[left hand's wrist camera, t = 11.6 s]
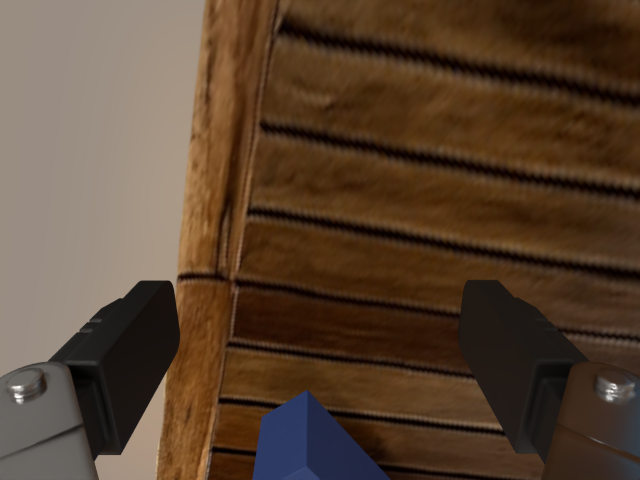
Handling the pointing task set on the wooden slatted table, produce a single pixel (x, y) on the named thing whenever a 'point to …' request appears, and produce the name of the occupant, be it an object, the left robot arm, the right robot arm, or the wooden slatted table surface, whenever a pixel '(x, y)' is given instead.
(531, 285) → the wooden slatted table surface
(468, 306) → the left robot arm
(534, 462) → the wooden slatted table surface
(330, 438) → the box
